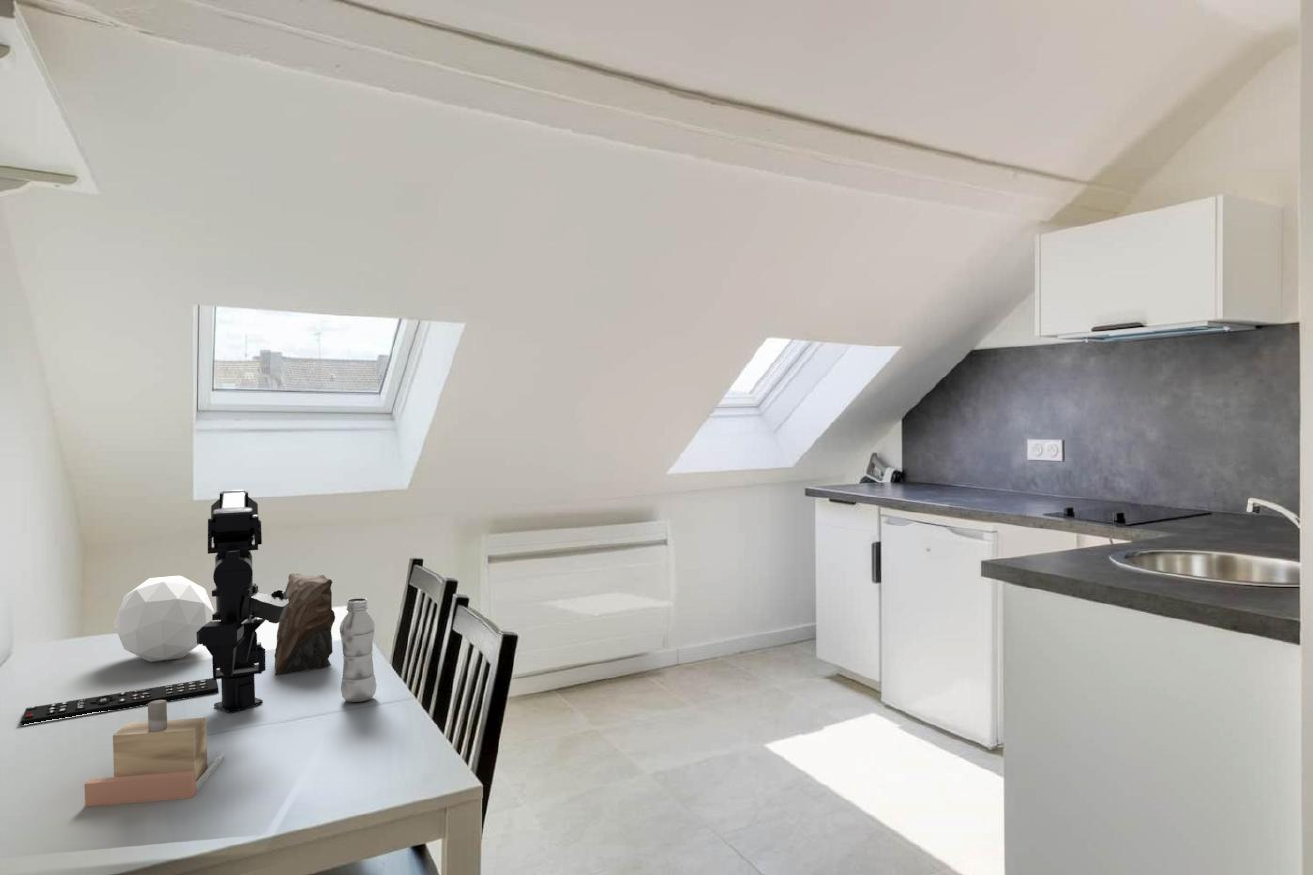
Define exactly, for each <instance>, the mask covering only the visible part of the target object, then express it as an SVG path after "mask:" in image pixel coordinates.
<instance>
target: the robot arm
mask: <svg viewBox="0 0 1313 875" xmlns="http://www.w3.org/2000/svg"><path fill="white" fill-rule="evenodd" d="M258 504H259V503H258V502H256V501H255V500H254V499H252V498H250V497H249V491H248V490H245V489H232V490H231V489H229V490H223V491H219V499H217V500H216V501H215V502H214V503H213V504H211V506H210V517H208V518H207V554H209V555H210V554H216V555H215V557H214V562H215V564H214V565H215V566H214V568H213V569H214V570H213V575H212V577H213V583H214V585H215V588H214V589H212V590H211V597H213V598H214V597H215V604H216V605H215V606H216V607H215V608H216V610H215V611H214V612H215V613H214V614H212V621H210V622H208V623H207V624H206V625H204V626H203V627H202V628H201V629H200V630H199V631H198V632H197V633H196V634H197V644H199V645H202V646H203V647H205V648H206V650H207V651H208V652H209V654H210V656H211V659H212V660H211V661H212V662H211V663H212V678H213V680H221V681H220V683H221V686H220V687H221V701H219V702H215V703H214V704H213V706H214V707H215V708H216V709H219V710H223V711H225V712H227V713H230V714H231V713H235V712H238V711H241V710H242V711H243V710H244V709H247V708H252V707H254V706H258V705H261V704H263V703H264V701H263V699H261V698H258V697H256V684H255V683H256V682H255V675H262V674H263V672H265V671H266V668H267V667H266V648H264V647H263V645H262V642H260V641H259V642H258V633H257V631H256V630H258V629H259V627H261V625H262V624H264V623H265V621H268V623H271V624H279V622H280V620H281V619H283V618H284V615H285V612H286V610H287V608H288V607H289V599H287V597H286V591H285V590H283V589H280V588H277V589H275V590H274V591H273V592H272V593H271V594H269V593H268V592H267V593H262V592H259V585H257V583H253V580H254V579H253V574H254V572H253V553H252V552H251V551H258V550H259V545H263V541H262V540H263V539H262V521H261V520H260V519H259V505H258ZM253 542H254V544H253Z"/></svg>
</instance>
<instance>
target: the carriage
mask: <svg viewBox="0 0 1313 875" xmlns="http://www.w3.org/2000/svg"><path fill="white" fill-rule="evenodd" d="M167 703H168V702H167V701H166V700H156V701H152V702H150V703H148V705H147V719H148V720H147V721H133V722H128V723H126V724H125V725H124V726H123V727H121V728H120V729H119V730H118V731H117V732H116V733H114V734H113V735H112V747H113V748H112V755H113V777H124V776H137V775H150V774H163V773H176V772H189V771H196V781H197V780H198V779H199V778H200V777H201V776H202V775H203V773H204V772H205V771H206V770H207V769H208V747H207V746H208V742H207V741H208V740H207V739H208V737H207V736H208V735H207V717H195V718H192V717H191V718H178V719H176V718H175V719H168V709H167V707H168V706H167Z"/></svg>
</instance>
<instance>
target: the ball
mask: <svg viewBox="0 0 1313 875" xmlns="http://www.w3.org/2000/svg"><path fill="white" fill-rule="evenodd" d="M215 612H216V611H215V609H214V607H213V605H212V603H211V600H210V597H209V595H208V592H207V590H206V588H204V587H203V586H201V585H198V584H197V583H196V582H193V581H192V580H190V579H188V578H186V577H184V576H182V575H171V576H162V577H161V576H160V577H149V578H148V579H146V580H145V581H144V582H141V584H139V585H137V587H135V588H134V589H132V590H131V591H129V592H127V593H126V594H125V595H124V596H123V598H122V601H121V603H120V606H119V609H118V612H117V614H116V617H115V620H114V622H113V625H114V627H115V630H116V632H117V635H118V638H119V640H120V642H121V645H122V647H123V649H124V650H125V651H127V652H129V653H131V654H133V655H136V656H137V657H139V658H141V659H143V660H145V661H147V662H150V663H153V662H161V661H169V660H176V659H182V658H184V657H185V656H186V655H187V654H188V653H190V652H191V651H193V650H194V649H195V648H197V647H198V646H199V645H200V644H197V634H196V633H197V632H198V631H199V630H200V629H201V628H202V627H203V626H204V625H206V624H207V623H208V622H210V621H213V620H212V614H214V613H215Z"/></svg>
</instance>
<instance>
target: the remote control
mask: <svg viewBox="0 0 1313 875" xmlns="http://www.w3.org/2000/svg"><path fill="white" fill-rule="evenodd" d="M217 680H218V679H216V680H213V677H211V678H204V679H198V680H192V681H186V682H181V683H180V682H179V683H174V684H167V685H161V686H154V687H148V688H142V689H137V690H130V691H123V692H118V693H112V694H111V693H110V694H105V695H99V696H93V697H92V696H91V697H87V698H80V699H74V700H67V701H62V702H56V703H49V704H43V705H35V706H29V707H26V708H25V710H24V712H23V715H22V717H21V720H20V726H21V725H24V724H29V723H34V722H41V721H46V720H52V719H59V718H65V717H72V716H76V715H82V714H87V713H92V712H99V711H100V712H101V711H108V710H115V711H119V710H118V709H121V710H124V709H123V708H127V709H130V708H129V707H133V708H137V707H136V706H139V707H141V706H140V705H145V706H147V705H146V704H148V703H150V702H152V701H156V700H166V701H168V702H172V701H171V700H174V701H179V700H178V699H180V700H184V699H183V698H186V699H191V697H192V698H196V697H197V696H198V697H203V696H208V695H214V694H219V693H220V692H219V684H218V681H217ZM189 697H190V698H189Z"/></svg>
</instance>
